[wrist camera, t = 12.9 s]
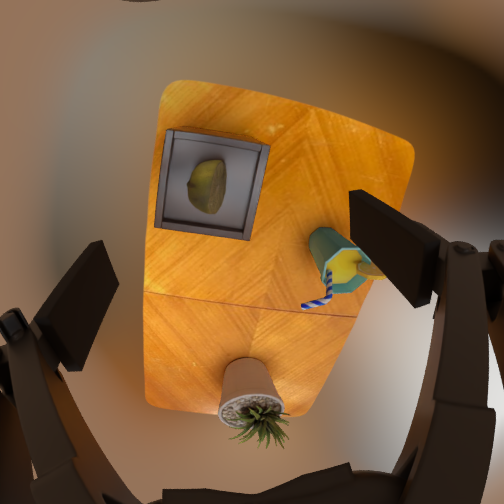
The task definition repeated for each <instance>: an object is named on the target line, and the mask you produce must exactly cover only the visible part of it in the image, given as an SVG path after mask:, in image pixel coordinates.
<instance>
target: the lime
mask: <svg viewBox="0 0 504 504" xmlns="http://www.w3.org/2000/svg"><path fill="white" fill-rule="evenodd" d="M226 177H227V171H226V164H225V162H224V161H221V160H210V161H205V162H203V163H200V164H199V165H198V166H197V167H196V168H195V169H194V170H193V171H192V174H191V177H190V180H189V181H188V182H187V188H188V190H187V191H188V198H189V201H190V202H191V204H192V205H193V206H194V207H195V208H197V209H198V210H200V211H202V212H204V213H207V214H216V213H217V212H218V210H219V209H220V207H221V206H222V203H223V200H224V196H225V192H226V180H227V178H226Z"/></svg>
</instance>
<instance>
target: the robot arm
mask: <svg viewBox="0 0 504 504" xmlns="http://www.w3.org/2000/svg"><path fill="white" fill-rule="evenodd" d="M349 208H350V239H351V240H352V241H353V242H354V243H355V244H356V245H357V246H358V247H359V248H360V249H361V250H362V251H363V252H364V253H365V254H366V256H367V257H368V258H369V259H370V260H371V261H372V262H373V263H374V264H375V265H376V266H377V267H378V268H379V269H380V270H381V271H382V273H383V274H384V275H385V276H386V277H387V278H388V279H389V280H390V281H391V282H392V283H393V284H394V286H395V287H396V288H397V289H398V290H399V291H400V292H401V293H402V294H403V296H404V297H405V298H406V299H407V300H408V301H409V302H410V304H411V305H412V306H413V307H414V308H418V307H421V306H424V305H427V304H429V303H430V300H431V295H432V291H434V292H435V293H436V294H437V295H438V299H437V303H436V307H435V311H434V315H433V319H434V326H433V333H432V339H431V345H430V350H429V356H428V361H427V366H426V370H425V375H424V379H423V383H422V388H421V392H420V396H419V399H418V403H417V407H416V410H415V414H414V417H413V420H412V424H411V427H410V430H409V433H408V436H407V439H406V442H405V445H404V448H403V450H402V453H401V455H400V457H399V459H398V461H397V463H396V465H395V467H394V469H393V471H392V473H391V474H390V473H385V472H380V471H370V470H366V471H365V470H363V471H362V470H359V471H352V469H351V466H350V463H349V462H348V463H345V464H342V465H338V466H334V467H331V468H328V469H324V470H320V471H316V472H312V473H308V474H304V475H301V476H299V477H297V478H295V479H293V480H290V481H288V482H286V483H284V484H281V485H279V486H276V487H274V488H272V489H269V490H266V491H264V492H261V493H258V494H243V493H234V492H226V491H219V490H212V489H206V488H205V489H204V488H203V489H163V493H162V499H160V500H157V501H153V502H150V503H148V504H480V503H481V499H482V496H483V492H484V488H485V484H486V480H487V475H488V470H489V465H490V460H491V454H492V448H493V441H494V433H495V425H496V412H495V410H494V408H488V406H487V399H488V381H489V340H488V334H489V337H490V340H491V343H492V346H493V350H494V353H495V356H496V360H497V364H498V367H499V371H500V375H501V379H502V384H503V388H504V240H493V241H491V243H490V247H489V252H478V250H477V249H476V248H475V247H474V246H473V245H471V244H469V243H466V242H461V241H455V242H451V243H450V242H448V241H447V240H445V239H444V238H443V237H441V236H440V235H438V234H437V233H435V232H434V231H432V230H431V229H430V230H429V228H428V227H426V226H425V225H423V224H421V223H419V222H416V221H413V220H411V219H409V218H407V217H406V216H405V215H403V214H401V213H400V212H398V211H397V210H395V209H394V208H392V207H390V206H389V205H387V204H385V203H384V202H382V201H381V200H379V199H377V198H376V197H374V196H372V195H371V194H369V193H367V192H365V191H364V190H362V189H360V190H353V191H349ZM118 286H119V282H118V280H117V278H116V275H115V272H114V270H113V267H112V265H111V262H110V259H109V257H108V254H107V251H106V249H105V246H104V243H103V241H102V240H100V241H96V242H92V243H90V244H89V245H88V247H87V248H86V249H85V250H84V251H83V253H82V254H81V255H80V256H79V258H78V259H77V260H76V261H75V263H74V264H73V265H72V266H71V268H70V269H69V270H68V271H67V273H66V274H65V275H64V277H63V278H62V279H61V280H60V282H59V283H58V285H57V286H56V287H55V288H54V290H53V291H52V293H51V294H50V295H49V297H48V298H47V300H46V301H45V302H44V304H43V305H42V307H41V308H40V309H39V311H38V312H37V314H36V316H35V317H34V318H33V320H32V321H31V323H30V324H28V323H27V321H26V319H25V317H24V316H23V314H22V312H21V310H20V309H19V308H13V309H10V310H9V311H7V312H5V313H4V314H3V315H2V316H1V317H0V333H1V334H2V336H3V338H4V339H5V341H6V342H7V344H6V345H3V346H0V389H1V390H2V392H1V391H0V504H142V503H141V502H140V501H139V500H138V499H137V498H136V497H135V496H134V495H133V494H132V493H131V492H130V490H129V489H128V488H127V486H126V485H125V484H124V482H123V481H122V480H121V478H120V477H119V475H118V474H117V473H116V471H115V470H114V468H113V467H112V465H111V464H110V462H109V461H108V459H107V458H106V456H105V454H104V453H103V451H102V450H101V448H100V447H99V445H98V443H97V442H96V440H95V438H94V436H93V435H92V433H91V431H90V429H89V428H88V426H87V424H86V422H85V421H84V419H83V417H82V415H81V413H80V411H79V409H78V407H77V405H76V403H75V401H74V399H73V397H72V395H71V393H70V391H69V389H68V386H67V384H66V382H65V380H64V377H63V375H62V374H61V372H60V371H59V370H58V365H59V363H60V361H61V363H62V364H63V366H64V367H65V368H66V370H67V371H68V372H70V371H82V369H83V367H84V364H85V361H86V359H87V357H88V354H89V351H90V349H91V347H92V344H93V342H94V339H95V337H96V334H97V332H98V330H99V327H100V325H101V323H102V321H103V318H104V316H105V314H106V311H107V309H108V307H109V305H110V303H111V300H112V298H113V296H114V294H115V292H116V290H117V288H118ZM31 460H32V463H33V466H34V468H35V471H36V474H37V477H38V478H37V479H35V480H34V479H33V471H32V463H31Z"/></svg>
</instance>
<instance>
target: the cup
mask: <svg viewBox="0 0 504 504" xmlns="http://www.w3.org/2000/svg"><path fill="white" fill-rule="evenodd" d="M309 249H310V251H311V253H312V256H313V258H314V260H315V262H316V265H317V267H318V269H319V271H320V274H321V277H320V278H321V281H322V283H323V284H324V285H325V286H326V296H325V297H324V298H321V299H317V300H313V301H310V302H306V303H302V304H301V308H302V310H305V309H309V308H313V307H317V306H321V305H325V304H327V303H328V302H329V301H330V300H331V298H332V293H333V294H339V293H352V292H353V291H354V290H355V289H356V288H358V287H359V286H360V285H361V284H362V283H364V282H365V281H366V280H367V279H373V280H383V279H385V278H387V277H386V276H385V275H384V274H383V273H382V271H381V270H380V269H379V268H378V267H377V266H376V265H375V264H374V263H373V262H372V261H371V260H370V259H369V258H368V257H367V256H366V254H365V253H364V252H363V251H362V250H361V249H360V248H359V247H358V246H355V245H354V244H352V243H351V242H350V241H348V240H347V239H346V238H344V237H343V236H342V235H340V234H339V233H338V232H336V231H335V230H333V229H332V228H326V227H319V228H318V229H317V230H316V231H315V232H313V233H312V234H311V235H310V240H309Z"/></svg>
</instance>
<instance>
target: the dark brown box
mask: <svg viewBox="0 0 504 504" xmlns="http://www.w3.org/2000/svg"><path fill="white" fill-rule="evenodd" d="M269 151H270V146H269V145H267V144H265V143H263V142H261V141H259V140H257V139H255V138H253V137H249V136H243V135H238V134H232V133H227V132H221V131H214V130H208V129H201V128H194V127H187V126H182V127H176V128H170V129H167V130H166V135H165V141H164V147H163V154H162V161H161V168H160V175H159V183H158V192H157V201H156V211H155V221H154V227H155V228H162V229H168V230H175V231H183V232H190V233H197V234H204V235H211V236H218V237H225V238H232V239H239V240H246V241H250V237H251V232H252V228H253V223H254V219H255V214H256V209H257V205H258V200H259V196H260V191H261V187H262V182H263V178H264V173H265V169H266V164H267V160H268V155H269ZM210 160H221V161H224V162H225V164H226V171H227V177H226V178H227V180H226V192H225V196H224V200H223V203H222V206H221V207H220V209H219V210H218V212H217V213H216V214H207V213H204V212H202V211H200V210H198V209H197V208H195V207H194V206H193V205H192V204H191V202H190V201H189V198H188V191H187V190H188V188H187V182H188V181H189V180H190V177H191V174H192V171H193V170H194V169H195V168H196V167H197V166H198V165H199V164H200V163H203V162H205V161H210Z"/></svg>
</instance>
